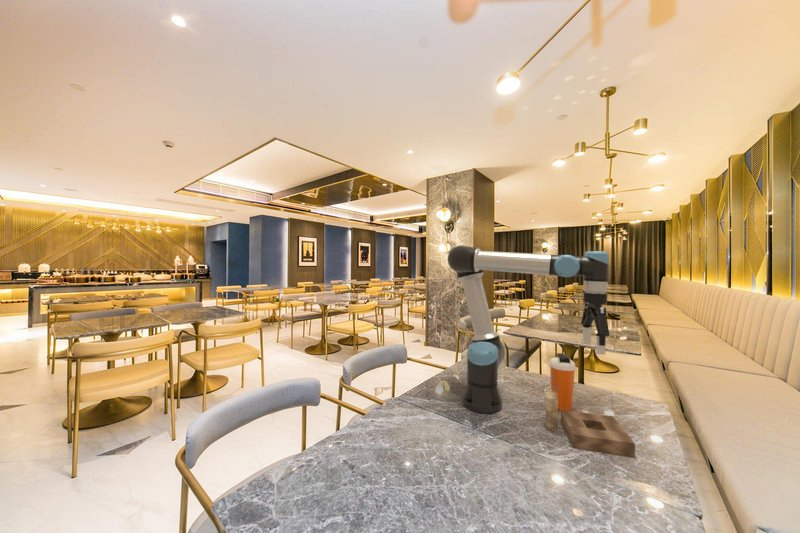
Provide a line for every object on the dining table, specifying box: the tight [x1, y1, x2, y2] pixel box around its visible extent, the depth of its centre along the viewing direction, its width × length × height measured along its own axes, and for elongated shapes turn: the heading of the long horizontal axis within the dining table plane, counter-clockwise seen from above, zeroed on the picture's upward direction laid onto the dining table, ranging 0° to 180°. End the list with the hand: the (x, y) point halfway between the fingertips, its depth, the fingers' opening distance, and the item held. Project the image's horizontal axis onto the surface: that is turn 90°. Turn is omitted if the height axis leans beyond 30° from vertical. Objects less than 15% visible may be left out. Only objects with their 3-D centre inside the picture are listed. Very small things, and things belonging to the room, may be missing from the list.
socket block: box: [560, 410, 636, 458], centre depth 97 cm, size 16×16×4 cm
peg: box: [545, 390, 559, 432], centre depth 102 cm, size 4×4×12 cm
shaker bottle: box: [549, 352, 576, 411], centre depth 117 cm, size 9×9×20 cm
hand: (593, 348), depth 113 cm, fingers open, 13 cm apart
